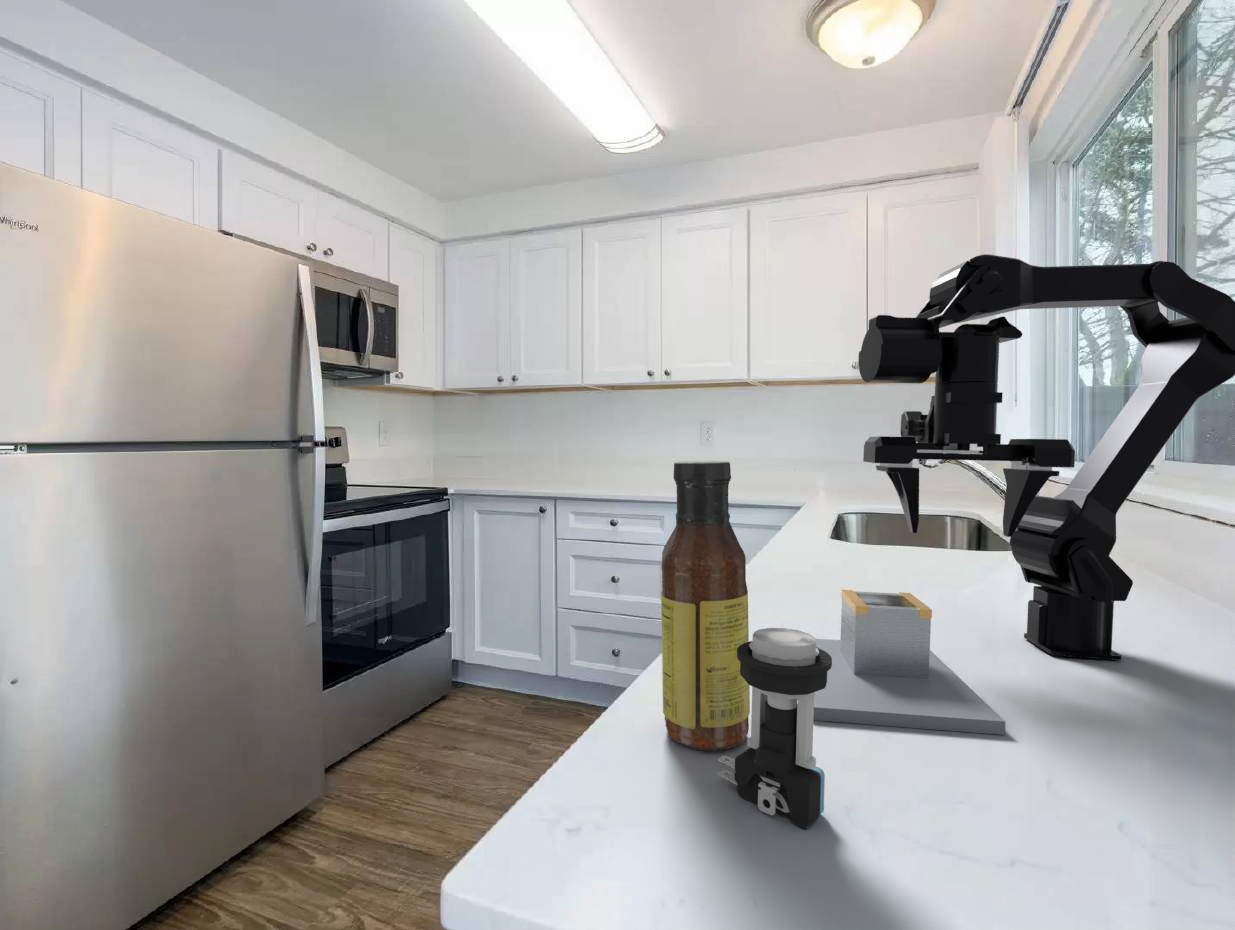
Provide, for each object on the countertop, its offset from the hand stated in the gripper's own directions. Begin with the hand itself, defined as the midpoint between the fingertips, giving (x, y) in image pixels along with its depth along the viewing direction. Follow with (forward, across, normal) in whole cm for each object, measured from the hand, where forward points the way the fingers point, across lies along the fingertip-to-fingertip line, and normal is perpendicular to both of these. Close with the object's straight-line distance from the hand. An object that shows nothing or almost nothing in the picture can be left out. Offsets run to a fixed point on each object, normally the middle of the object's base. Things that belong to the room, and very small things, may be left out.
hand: (960, 534), depth 67 cm
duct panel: (+12, +11, +12) cm, 20 cm away
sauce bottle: (+12, +26, +25) cm, 38 cm away
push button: (+12, +22, +33) cm, 41 cm away
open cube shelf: (+11, +10, +10) cm, 18 cm away
